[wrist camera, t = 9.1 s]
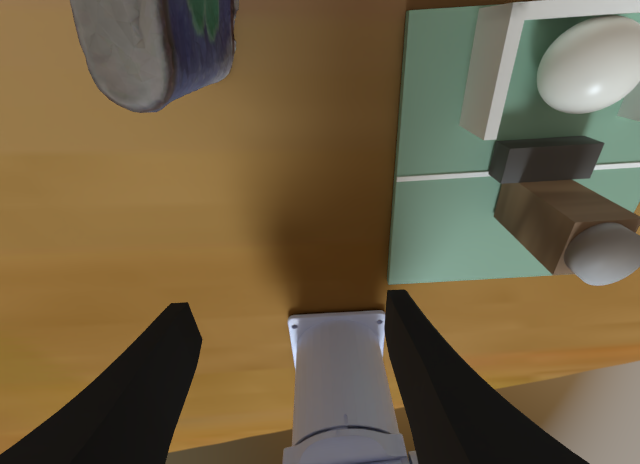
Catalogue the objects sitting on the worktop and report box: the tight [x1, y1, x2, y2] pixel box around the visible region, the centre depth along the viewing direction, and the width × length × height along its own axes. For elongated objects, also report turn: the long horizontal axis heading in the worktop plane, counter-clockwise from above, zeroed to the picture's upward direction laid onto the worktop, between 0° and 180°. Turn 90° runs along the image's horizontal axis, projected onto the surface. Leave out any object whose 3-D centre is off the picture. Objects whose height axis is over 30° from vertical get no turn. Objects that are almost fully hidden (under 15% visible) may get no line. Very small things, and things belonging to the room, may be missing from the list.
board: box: [387, 4, 640, 285], centre depth 20 cm, size 17×16×1 cm
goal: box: [459, 0, 640, 140], centre depth 15 cm, size 5×9×3 cm, turn 93°
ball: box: [537, 15, 640, 114], centre depth 15 cm, size 4×4×4 cm
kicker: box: [488, 136, 640, 285], centre depth 16 cm, size 5×5×7 cm
